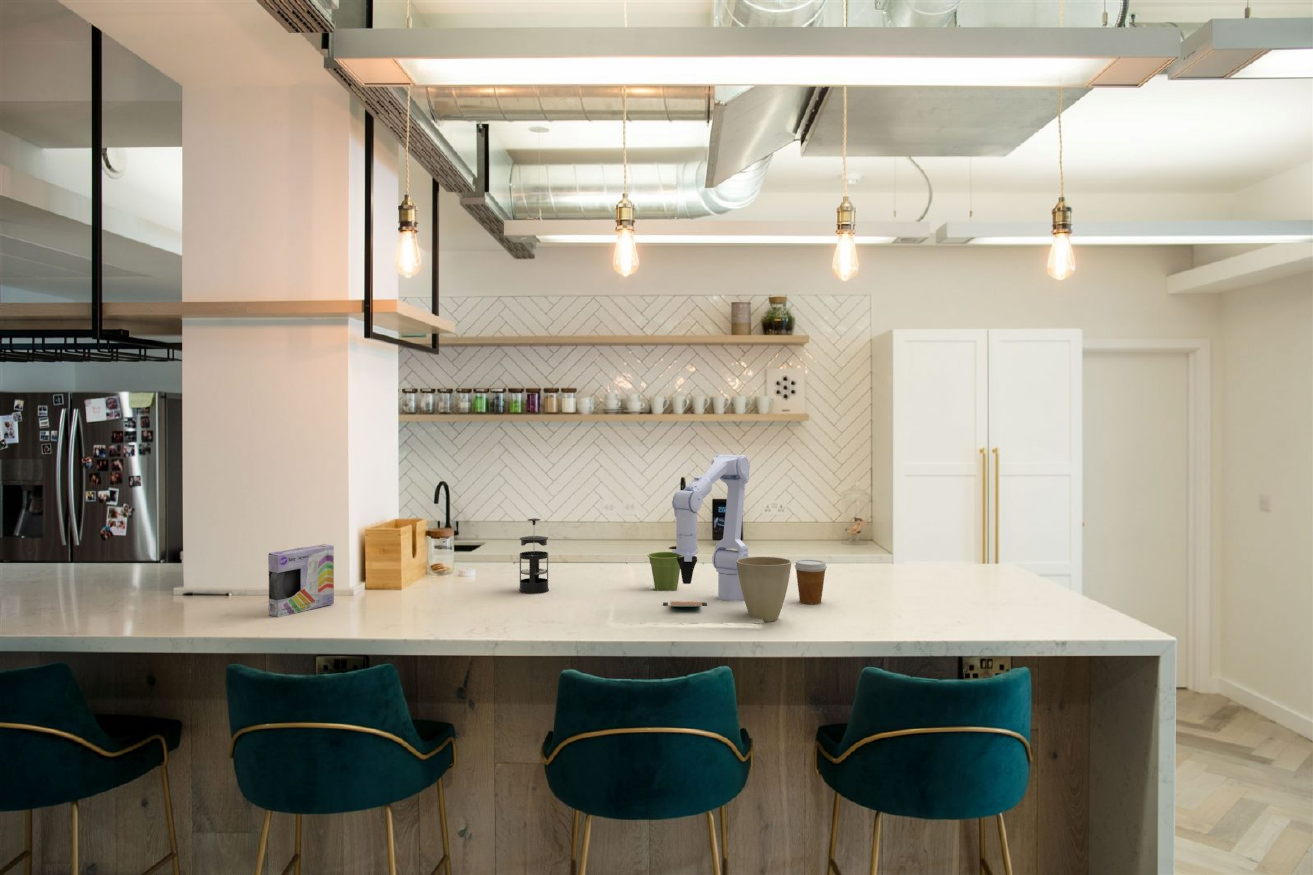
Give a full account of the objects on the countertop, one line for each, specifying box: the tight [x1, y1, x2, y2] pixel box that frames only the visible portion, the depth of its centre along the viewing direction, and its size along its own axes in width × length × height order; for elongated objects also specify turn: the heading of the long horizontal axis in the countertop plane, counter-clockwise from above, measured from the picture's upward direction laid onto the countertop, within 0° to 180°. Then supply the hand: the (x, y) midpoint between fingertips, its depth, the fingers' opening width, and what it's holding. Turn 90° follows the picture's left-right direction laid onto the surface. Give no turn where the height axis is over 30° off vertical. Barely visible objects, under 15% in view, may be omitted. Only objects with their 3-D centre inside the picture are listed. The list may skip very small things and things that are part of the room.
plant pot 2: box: [736, 556, 792, 623], centre depth 220 cm, size 15×15×16 cm
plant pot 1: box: [647, 551, 683, 592], centre depth 259 cm, size 12×12×11 cm
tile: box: [669, 600, 702, 608], centre depth 227 cm, size 9×1×9 cm
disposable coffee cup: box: [794, 559, 828, 605], centre depth 241 cm, size 10×10×12 cm
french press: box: [518, 517, 550, 595], centre depth 257 cm, size 12×9×23 cm
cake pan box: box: [267, 543, 335, 618], centre depth 228 cm, size 19×5×18 cm, turn 149°
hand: (686, 583), depth 222 cm, fingers closed
